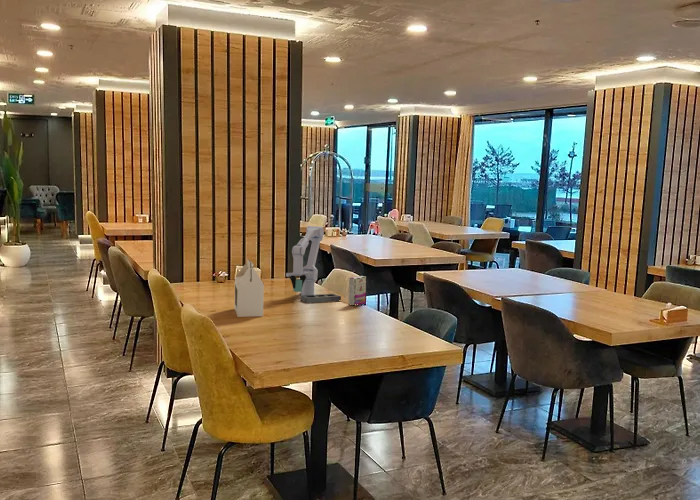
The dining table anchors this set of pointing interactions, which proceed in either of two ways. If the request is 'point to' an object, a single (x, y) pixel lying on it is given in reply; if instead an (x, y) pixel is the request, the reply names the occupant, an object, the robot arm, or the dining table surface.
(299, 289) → the square peg
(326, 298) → the rail
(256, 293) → the gable box
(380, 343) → the dining table surface
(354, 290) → the candy bar box
